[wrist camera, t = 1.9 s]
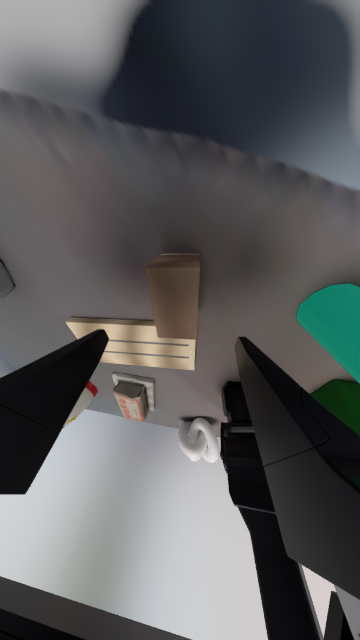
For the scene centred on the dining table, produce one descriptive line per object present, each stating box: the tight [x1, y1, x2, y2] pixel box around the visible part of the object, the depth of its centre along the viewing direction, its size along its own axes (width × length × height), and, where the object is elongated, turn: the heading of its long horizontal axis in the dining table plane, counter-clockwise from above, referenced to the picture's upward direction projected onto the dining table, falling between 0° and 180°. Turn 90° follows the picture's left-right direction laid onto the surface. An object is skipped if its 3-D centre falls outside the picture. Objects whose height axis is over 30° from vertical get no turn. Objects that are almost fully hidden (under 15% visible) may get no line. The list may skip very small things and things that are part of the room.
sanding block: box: [145, 253, 200, 340], centre depth 13 cm, size 4×7×6 cm, turn 2°
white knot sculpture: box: [178, 417, 219, 463], centre depth 39 cm, size 11×12×9 cm
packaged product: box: [111, 372, 155, 421], centre depth 34 cm, size 18×5×10 cm
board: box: [66, 317, 196, 370], centre depth 22 cm, size 20×10×1 cm, turn 92°
